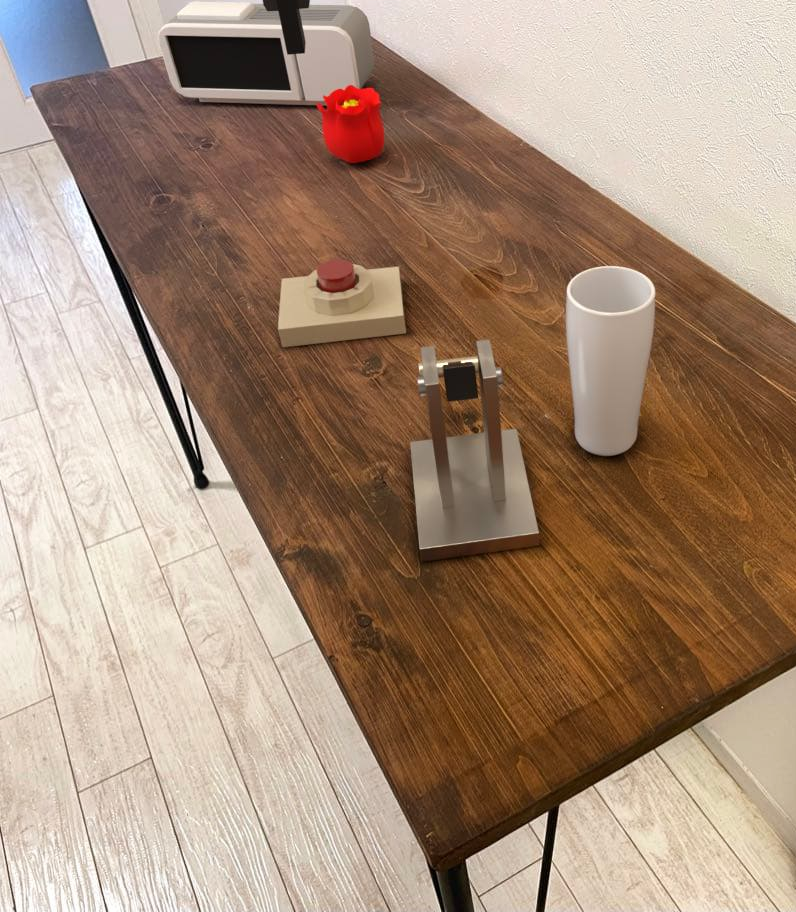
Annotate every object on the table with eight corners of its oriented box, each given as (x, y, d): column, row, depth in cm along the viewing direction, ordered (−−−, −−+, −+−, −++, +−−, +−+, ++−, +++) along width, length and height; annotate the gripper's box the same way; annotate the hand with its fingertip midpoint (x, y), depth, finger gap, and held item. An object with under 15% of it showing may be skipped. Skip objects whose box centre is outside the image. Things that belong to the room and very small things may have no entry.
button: (319, 296, 89) (316, 280, 88) (320, 276, 92) (316, 261, 91) (357, 292, 90) (354, 276, 89) (356, 272, 92) (353, 257, 91)
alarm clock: (176, 105, 132) (150, 18, 124) (202, 80, 139) (178, -4, 131) (361, 111, 129) (347, 22, 121) (378, 85, 136) (366, -1, 128)
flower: (395, 165, 117) (386, 103, 111) (335, 177, 115) (323, 114, 110) (379, 141, 122) (370, 80, 117) (322, 151, 120) (310, 90, 115)
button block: (282, 347, 89) (273, 313, 87) (286, 296, 96) (277, 263, 93) (406, 333, 91) (401, 299, 88) (401, 284, 97) (396, 250, 94)
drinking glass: (550, 431, 80) (547, 282, 69) (613, 402, 82) (620, 255, 72) (596, 476, 76) (601, 326, 65) (661, 444, 78) (675, 294, 68)
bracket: (412, 454, 78) (390, 319, 69) (517, 441, 79) (509, 306, 69) (421, 562, 69) (398, 425, 60) (539, 545, 70) (534, 408, 61)
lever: (421, 384, 78) (417, 356, 78) (491, 376, 79) (487, 348, 78) (420, 405, 64) (415, 371, 64) (505, 395, 65) (501, 361, 65)
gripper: (322, -312, 67) (370, 27, 83) (137, -303, 66) (223, 39, 82) (321, -303, 62) (373, 57, 78) (120, -294, 61) (215, 71, 77)
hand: (296, 48), depth 80 cm, fingers closed
